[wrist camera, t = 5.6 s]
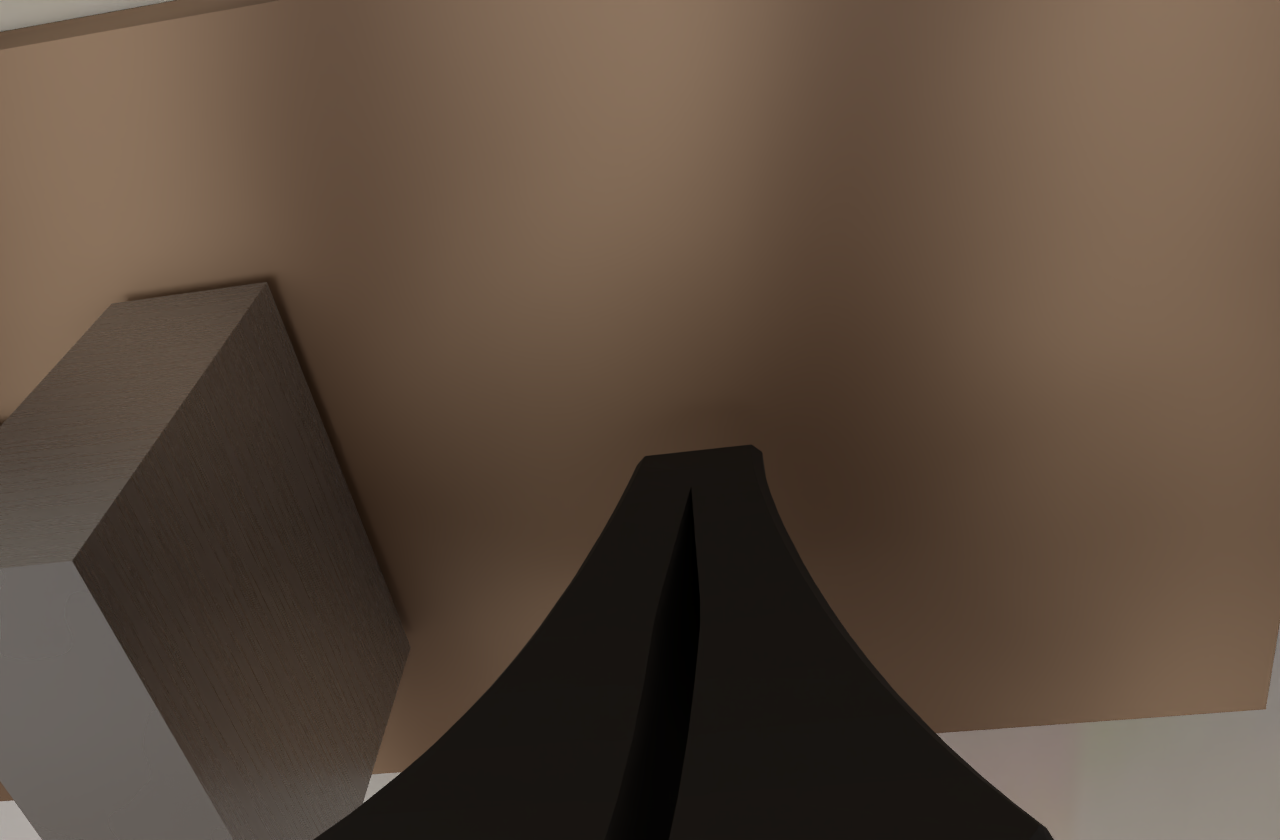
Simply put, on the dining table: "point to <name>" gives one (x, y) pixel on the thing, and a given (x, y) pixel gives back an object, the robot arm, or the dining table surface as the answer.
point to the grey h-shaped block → (186, 587)
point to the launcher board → (726, 303)
